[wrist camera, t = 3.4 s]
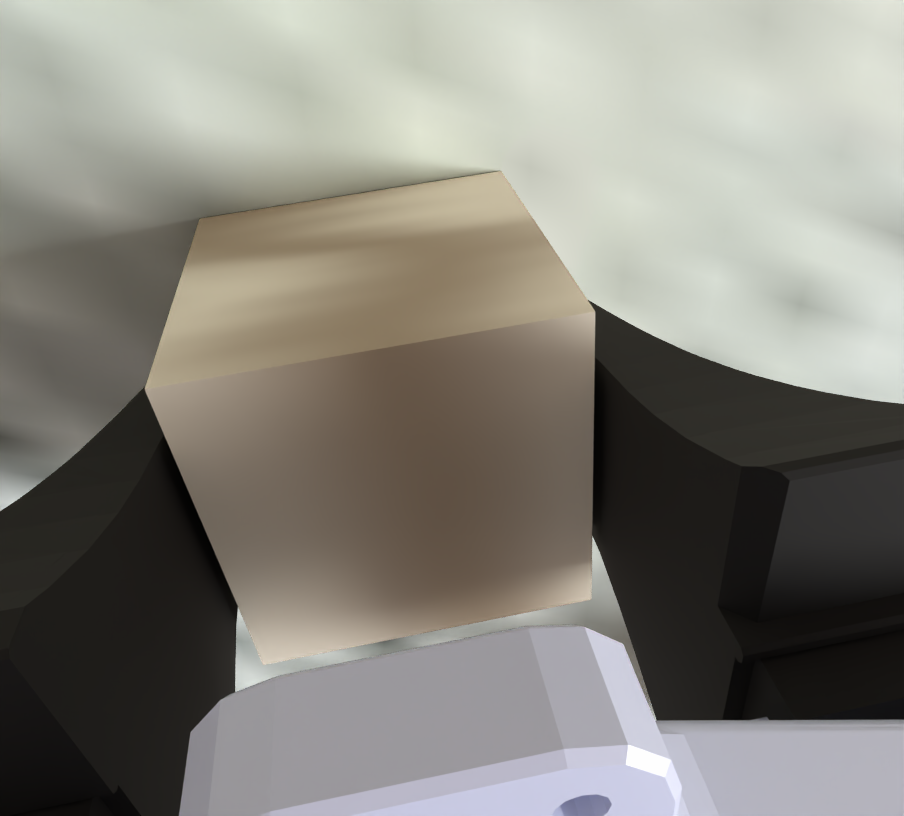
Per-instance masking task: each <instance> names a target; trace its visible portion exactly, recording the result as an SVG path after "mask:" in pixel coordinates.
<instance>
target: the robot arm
mask: <svg viewBox="0 0 904 816" xmlns="http://www.w3.org/2000/svg"><path fill="white" fill-rule="evenodd" d="M588 301H589V300H588ZM589 303H590V304H591V306H592V307H593V309H594V310H595V371H594V441H593V512H592V535H593V538H594V540H595V542H596V545H597V547H598V549H599V551H600V554H601V556H602V559H603V562H604V565H605V568H606V570H607V573H608V576H609V579H610V581H611V584H612V587H613V590H614V593H615V595H616V598H617V601H618V604H619V607H620V610H621V613H622V616H623V618H624V621H625V624H626V627H627V630H628V633H629V636H630V639H631V642H632V645H633V648H634V651H635V654H636V657H637V660H638V663H639V666H640V669H641V672H642V675H643V679H644V682H645V685H646V688H647V691H648V694H649V697H650V700H651V704H652V707H653V710H654V713H655V716H656V719H657V721H655V720H654V717H653V715H652V712H651V710H650V708H649V705H648V703H647V700H646V698H645V695H644V693H643V691H642V688H641V686H640V683H639V681H638V679H637V676H636V674H635V671H634V669H633V666H632V664H631V662H630V659H629V657H628V654H627V652H626V650H625V647H624V645H623V644H622V643H620V642H618V641H615V640H613V639H611V638H609V637H606V636H604V635H602V634H600V633H597V632H595V631H593V630H591V629H588V628H586V627H583V626H579V625H550V626H524V627H519V628H514V629H509V630H504V631H499V632H494V633H489V634H484V635H479V636H474V637H469V638H464V639H459V640H455V641H450V642H445V643H440V644H435V645H430V646H425V647H420V648H415V649H410V650H405V651H400V652H395V653H390V654H385V655H380V656H375V657H370V658H365V659H360V660H355V661H350V662H345V663H340V664H335V665H330V666H325V667H320V668H315V669H310V670H305V671H300V672H295V673H290V674H285V675H280V676H277V677H274V678H271V679H269V680H266V681H264V682H261V683H258V684H256V685H253V686H250V687H248V688H245V689H243V690H240V691H237V692H235V657H236V621H237V610H238V605H237V603H236V601H235V598H234V596H233V594H232V591H231V589H230V587H229V584H228V582H227V580H226V577H225V575H224V573H223V570H222V568H221V566H220V563H219V561H218V559H217V557H216V554H215V552H214V550H213V547H212V545H211V543H210V540H209V538H208V536H207V533H206V531H205V529H204V526H203V524H202V522H201V519H200V517H199V515H198V512H197V510H196V508H195V505H194V503H193V501H192V498H191V496H190V494H189V491H188V489H187V487H186V484H185V482H184V480H183V477H182V475H181V473H180V471H179V468H178V466H177V464H176V461H175V459H174V457H173V454H172V452H171V450H170V447H169V445H168V443H167V440H166V438H165V436H164V433H163V431H162V429H161V426H160V424H159V422H158V419H157V417H156V415H155V412H154V410H153V408H152V405H151V403H150V401H149V398H148V396H147V394H146V391H145V387H144V388H143V389H142V390H141V391H140V392H139V393H138V394H137V395H136V396H135V397H134V398H133V399H132V400H131V401H130V402H129V403H128V405H127V406H126V407H125V408H124V409H123V410H122V411H121V412H120V413H119V414H118V415H117V416H116V417H115V418H114V419H113V420H112V421H111V422H109V423H108V424H107V425H106V426H105V427H104V428H103V429H102V430H101V431H100V432H99V433H98V434H97V435H96V436H95V437H94V438H92V439H91V440H90V441H89V442H88V443H87V444H86V445H85V446H84V447H83V448H82V449H81V450H80V451H79V452H78V453H76V454H75V455H74V456H73V457H72V458H71V459H69V460H68V461H67V462H66V463H65V464H63V465H62V466H61V467H60V468H59V469H57V470H56V471H55V472H54V473H52V474H51V475H50V476H49V477H47V478H46V479H45V480H43V481H42V482H41V483H40V484H38V485H37V486H36V487H34V488H33V489H32V490H30V491H29V492H28V493H26V494H25V495H24V496H22V497H21V498H19V499H18V500H17V501H15V502H14V503H12V504H11V505H9V506H8V507H6V508H5V509H3V510H2V511H0V816H904V404H898V403H889V402H880V401H872V400H866V399H860V398H854V397H848V396H843V395H837V394H831V393H825V392H821V391H816V390H811V389H807V388H802V387H797V386H793V385H789V384H785V383H782V382H778V381H774V380H770V379H766V378H763V377H759V376H755V375H752V374H749V373H745V372H742V371H739V370H736V369H733V368H730V367H727V366H724V365H722V364H719V363H716V362H713V361H710V360H708V359H705V358H702V357H699V356H697V355H695V354H692V353H690V352H687V351H685V350H682V349H680V348H678V347H676V346H674V345H672V344H669V343H667V342H665V341H663V340H661V339H659V338H656V337H654V336H652V335H650V334H648V333H646V332H644V331H642V330H641V329H639V328H637V327H635V326H633V325H631V324H629V323H627V322H626V321H624V320H622V319H620V318H618V317H616V316H615V315H613V314H611V313H609V312H608V311H606V310H604V309H602V308H601V307H599V306H597V305H596V304H594V303H592V302H590V301H589Z"/></svg>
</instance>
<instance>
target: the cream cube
mask: <svg viewBox="0 0 904 816" xmlns="http://www.w3.org/2000/svg"><path fill="white" fill-rule="evenodd" d="M594 371H595V310H594V309H593V307H592V306H591V304H590V303H589V301H588V300H587V298H586V297H585V295H584V294H583V292H582V291H581V289H580V288H579V286H578V285H577V283H576V282H575V280H574V279H573V277H572V276H571V274H570V273H569V271H568V270H567V269H566V267H565V266H564V264H563V263H562V261H561V260H560V258H559V257H558V255H557V254H556V252H555V251H554V249H553V248H552V246H551V245H550V243H549V242H548V240H547V239H546V237H545V236H544V234H543V233H542V231H541V230H540V228H539V227H538V225H537V224H536V222H535V221H534V219H533V218H532V216H531V215H530V213H529V212H528V210H527V209H526V207H525V206H524V204H523V203H522V201H521V200H520V198H519V197H518V195H517V194H516V192H515V191H514V189H513V188H512V186H511V185H510V183H509V182H508V180H507V179H506V177H505V176H504V175H503V173H502V172H501V171H498V172H492V173H485V174H479V175H473V176H466V177H460V178H454V179H447V180H441V181H435V182H428V183H422V184H416V185H409V186H403V187H397V188H390V189H384V190H378V191H371V192H365V193H358V194H352V195H346V196H339V197H333V198H327V199H320V200H314V201H308V202H301V203H295V204H289V205H282V206H276V207H270V208H263V209H257V210H251V211H244V212H238V213H232V214H225V215H219V216H213V217H206V218H200V219H199V222H198V225H197V228H196V232H195V235H194V238H193V241H192V244H191V247H190V250H189V253H188V256H187V259H186V263H185V266H184V269H183V272H182V275H181V278H180V281H179V284H178V287H177V290H176V293H175V297H174V300H173V303H172V306H171V309H170V312H169V315H168V318H167V321H166V324H165V327H164V331H163V334H162V337H161V340H160V343H159V346H158V349H157V352H156V355H155V358H154V362H153V365H152V368H151V371H150V374H149V377H148V380H147V383H146V386H145V391H146V394H147V396H148V398H149V401H150V403H151V405H152V408H153V410H154V412H155V415H156V417H157V419H158V422H159V424H160V426H161V429H162V431H163V433H164V436H165V438H166V440H167V443H168V445H169V447H170V450H171V452H172V454H173V457H174V459H175V461H176V464H177V466H178V468H179V471H180V473H181V475H182V477H183V480H184V482H185V484H186V487H187V489H188V491H189V494H190V496H191V498H192V501H193V503H194V505H195V508H196V510H197V512H198V515H199V517H200V519H201V522H202V524H203V526H204V529H205V531H206V533H207V536H208V538H209V540H210V543H211V545H212V547H213V550H214V552H215V554H216V557H217V559H218V561H219V563H220V566H221V568H222V570H223V573H224V575H225V577H226V580H227V582H228V584H229V587H230V589H231V591H232V594H233V596H234V598H235V601H236V603H237V605H238V608H239V610H240V612H241V615H242V617H243V619H244V622H245V624H246V626H247V629H248V631H249V633H250V636H251V638H252V640H253V643H254V645H255V647H256V650H257V652H258V654H259V656H260V659H261V661H262V663H263V665H265V664H271V663H276V662H281V661H286V660H291V659H296V658H301V657H306V656H311V655H316V654H321V653H326V652H331V651H336V650H341V649H346V648H351V647H356V646H361V645H366V644H371V643H376V642H381V641H386V640H391V639H396V638H401V637H406V636H411V635H416V634H421V633H426V632H431V631H436V630H441V629H446V628H451V627H456V626H461V625H466V624H471V623H476V622H481V621H486V620H491V619H496V618H501V617H506V616H511V615H516V614H521V613H526V612H531V611H537V610H542V609H547V608H552V607H557V606H562V605H567V604H572V603H577V602H582V601H587V600H591V582H592V512H593V441H594Z"/></svg>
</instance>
